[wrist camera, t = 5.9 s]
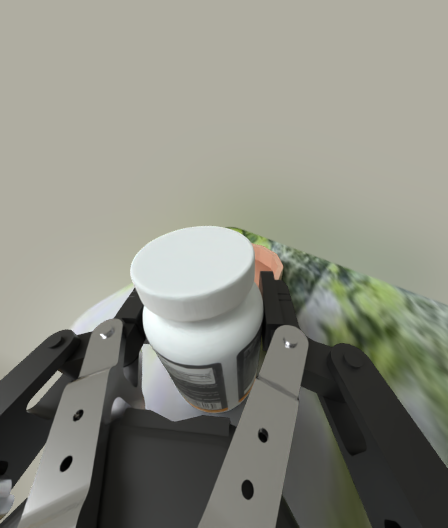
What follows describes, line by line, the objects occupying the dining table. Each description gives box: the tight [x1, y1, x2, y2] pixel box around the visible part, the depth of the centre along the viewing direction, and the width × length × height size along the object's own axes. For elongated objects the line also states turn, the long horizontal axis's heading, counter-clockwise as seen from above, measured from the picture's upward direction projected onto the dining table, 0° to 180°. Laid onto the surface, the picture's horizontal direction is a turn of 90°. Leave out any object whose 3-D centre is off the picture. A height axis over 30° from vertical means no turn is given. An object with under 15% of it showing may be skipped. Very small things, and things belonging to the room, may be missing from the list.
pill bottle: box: [130, 226, 264, 413], centre depth 10 cm, size 6×6×10 cm
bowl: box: [252, 244, 283, 288], centre depth 19 cm, size 8×8×2 cm
